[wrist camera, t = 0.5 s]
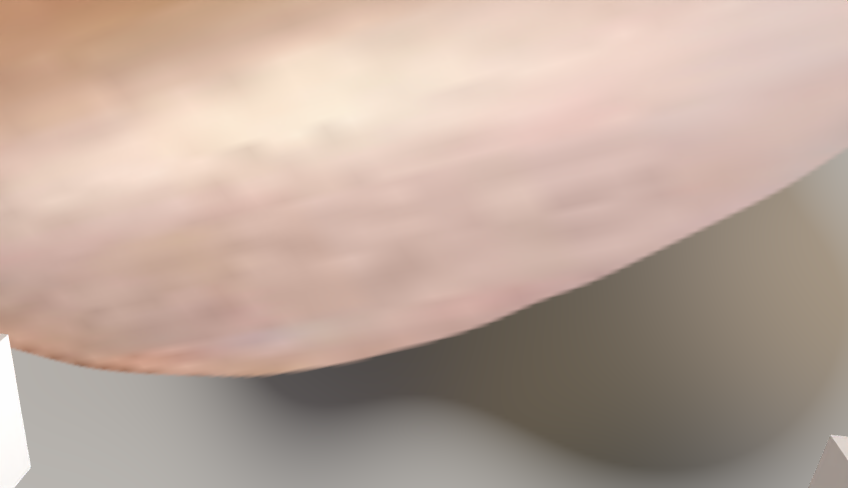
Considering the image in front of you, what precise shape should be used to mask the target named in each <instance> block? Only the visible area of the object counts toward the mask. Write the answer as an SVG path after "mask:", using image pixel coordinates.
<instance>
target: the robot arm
mask: <svg viewBox="0 0 848 488" xmlns="http://www.w3.org/2000/svg"><path fill="white" fill-rule="evenodd" d="M30 468H31V466H30V459H29V453H28V448H27V442H26V436H25V430H24V424H23V418H22V413H21V407H20V401H19V395H18V389H17V384H16V378H15V372H14V367H13V360H12V354H11V349H10V343H9V337H8V334H0V488H14V487H15V486H16V485H17V484H18V482H19V481H20V480H21V479H22V478H23V476H24V475H25V474H26V473H27V472H28V470H29V469H30ZM808 488H848V437H845V436H836V435H830V437H829V439H828V442H827V444H826V447H825V449H824V451H823V454H822V456H821V459H820V461H819V463H818V466H817V468H816V471H815V473H814V475H813V478H812V480H811V483H810V485H809V487H808Z"/></svg>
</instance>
